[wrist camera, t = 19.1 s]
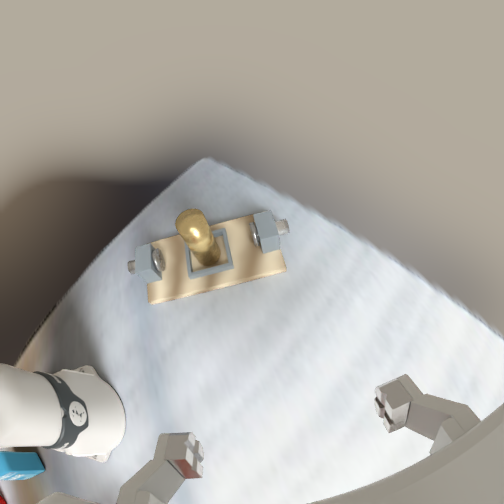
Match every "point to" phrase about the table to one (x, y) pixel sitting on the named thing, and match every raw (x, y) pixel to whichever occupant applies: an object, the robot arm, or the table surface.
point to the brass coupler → (198, 236)
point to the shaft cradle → (224, 270)
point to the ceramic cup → (2, 500)
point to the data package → (19, 465)
